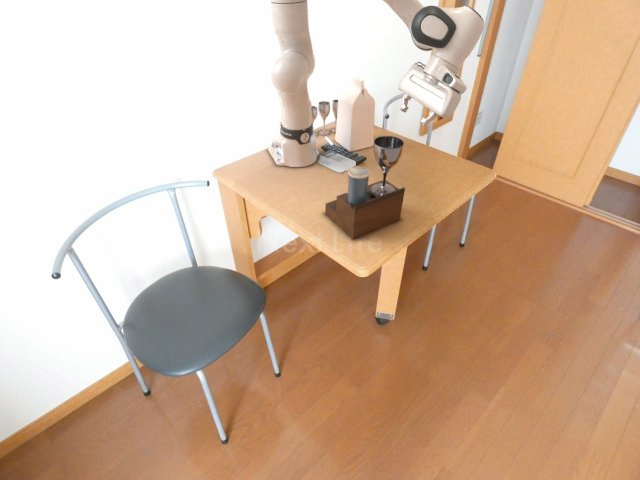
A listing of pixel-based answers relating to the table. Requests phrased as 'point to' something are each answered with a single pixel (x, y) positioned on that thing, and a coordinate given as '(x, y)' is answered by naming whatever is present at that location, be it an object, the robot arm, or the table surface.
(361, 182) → the tumbler
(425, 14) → the robot arm
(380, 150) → the wine glass
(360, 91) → the milk
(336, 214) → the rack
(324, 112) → the goblet set
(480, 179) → the table surface
